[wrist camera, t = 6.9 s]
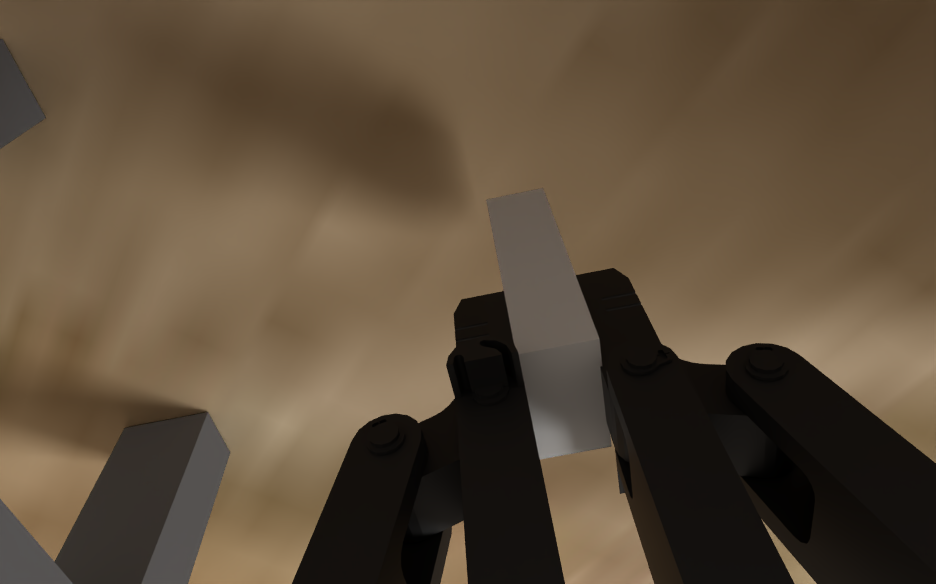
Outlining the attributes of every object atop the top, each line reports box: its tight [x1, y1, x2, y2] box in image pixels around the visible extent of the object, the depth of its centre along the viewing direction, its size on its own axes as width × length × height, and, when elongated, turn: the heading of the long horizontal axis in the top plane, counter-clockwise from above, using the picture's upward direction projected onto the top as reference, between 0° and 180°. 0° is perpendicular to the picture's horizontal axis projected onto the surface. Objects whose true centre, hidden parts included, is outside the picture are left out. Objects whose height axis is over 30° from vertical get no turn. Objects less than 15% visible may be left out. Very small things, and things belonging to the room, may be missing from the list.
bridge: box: [0, 39, 230, 584], centre depth 17 cm, size 3×14×9 cm, turn 11°
